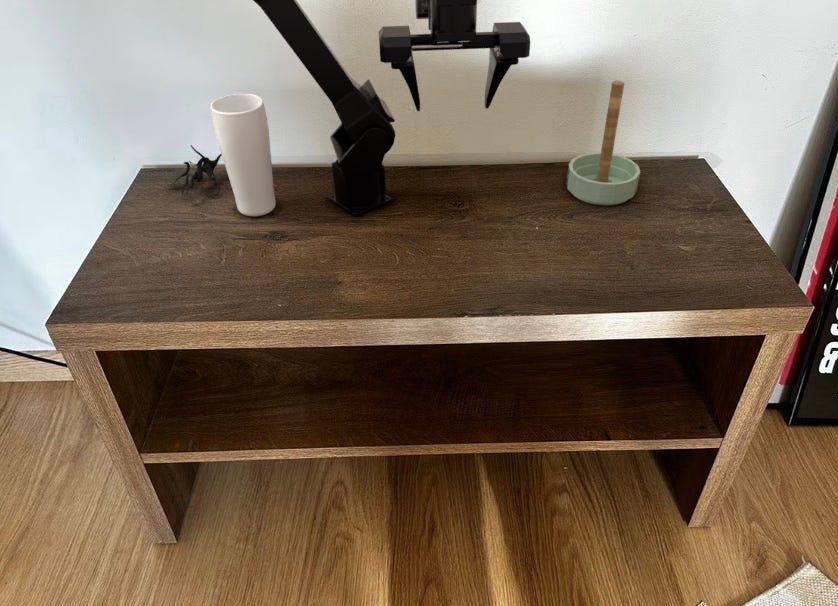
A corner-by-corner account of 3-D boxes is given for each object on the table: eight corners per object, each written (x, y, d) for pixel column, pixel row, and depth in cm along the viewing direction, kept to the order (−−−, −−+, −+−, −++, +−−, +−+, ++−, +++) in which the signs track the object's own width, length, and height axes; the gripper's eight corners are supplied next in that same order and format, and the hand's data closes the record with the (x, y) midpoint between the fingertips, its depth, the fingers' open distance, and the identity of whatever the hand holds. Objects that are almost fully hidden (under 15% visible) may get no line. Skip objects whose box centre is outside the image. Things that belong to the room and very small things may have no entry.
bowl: (606, 214, 96) (610, 191, 94) (552, 188, 102) (555, 166, 99) (649, 191, 101) (654, 169, 99) (595, 168, 107) (598, 146, 104)
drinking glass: (271, 223, 95) (251, 115, 85) (224, 218, 96) (199, 111, 86) (288, 199, 100) (272, 94, 90) (244, 194, 101) (223, 91, 91)
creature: (211, 209, 100) (240, 174, 104) (198, 179, 96) (228, 144, 100) (166, 199, 102) (196, 166, 107) (151, 170, 98) (183, 136, 102)
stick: (611, 192, 100) (630, 87, 90) (590, 191, 100) (606, 86, 90) (611, 182, 102) (629, 79, 92) (590, 181, 102) (606, 77, 92)
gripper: (519, -38, 90) (511, 84, 101) (374, -33, 89) (381, 89, 99) (535, -15, 82) (525, 115, 92) (376, -11, 81) (383, 120, 91)
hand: (452, 108), depth 94 cm, fingers open, 9 cm apart
